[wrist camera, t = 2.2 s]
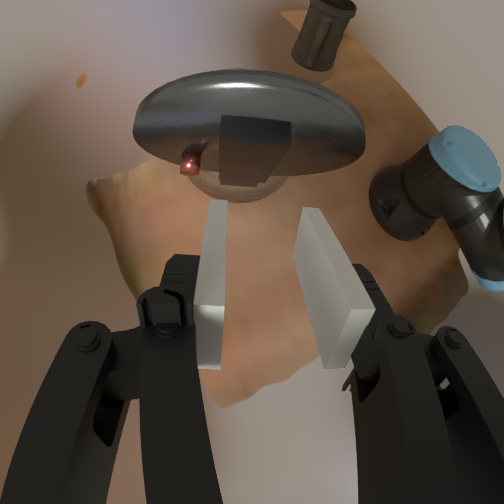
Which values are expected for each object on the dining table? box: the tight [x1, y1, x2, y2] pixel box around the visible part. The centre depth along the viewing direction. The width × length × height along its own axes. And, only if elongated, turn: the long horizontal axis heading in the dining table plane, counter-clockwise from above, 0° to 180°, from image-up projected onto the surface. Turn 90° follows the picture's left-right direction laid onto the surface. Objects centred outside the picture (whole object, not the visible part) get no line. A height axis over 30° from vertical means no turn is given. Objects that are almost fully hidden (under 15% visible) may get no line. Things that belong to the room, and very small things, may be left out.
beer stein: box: [291, 0, 356, 72], centre depth 50 cm, size 15×11×20 cm
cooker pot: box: [188, 68, 288, 203], centre depth 45 cm, size 25×21×12 cm
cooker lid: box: [133, 69, 365, 183], centre depth 26 cm, size 21×21×4 cm
